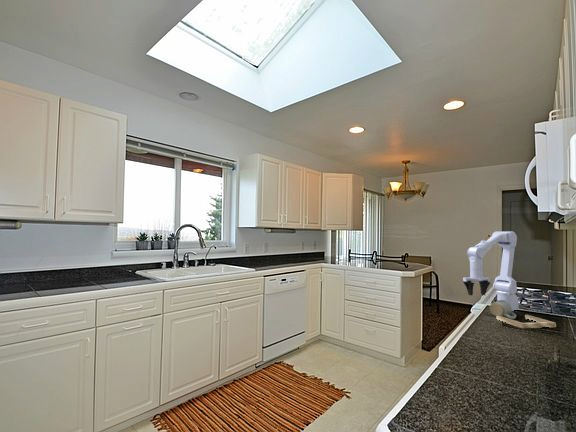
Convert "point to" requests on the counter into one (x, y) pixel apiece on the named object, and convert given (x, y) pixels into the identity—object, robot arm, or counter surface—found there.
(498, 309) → the ceramic mug
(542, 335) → the counter surface
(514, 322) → the bent wooden beam
